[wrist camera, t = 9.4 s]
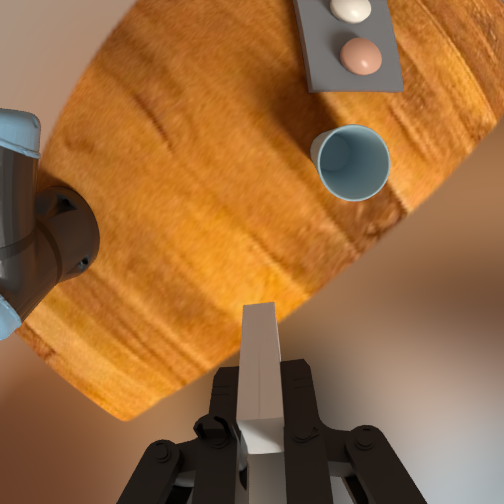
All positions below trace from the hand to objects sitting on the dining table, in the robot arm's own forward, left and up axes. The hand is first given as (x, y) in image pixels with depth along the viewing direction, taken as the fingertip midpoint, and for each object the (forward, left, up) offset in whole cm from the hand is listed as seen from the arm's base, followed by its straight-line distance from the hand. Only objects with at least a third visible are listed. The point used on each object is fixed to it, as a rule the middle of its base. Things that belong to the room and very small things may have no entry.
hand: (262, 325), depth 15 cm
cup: (+10, +5, -27) cm, 29 cm away
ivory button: (+14, +24, -25) cm, 37 cm away
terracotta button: (+14, +17, -25) cm, 33 cm away
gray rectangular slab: (+14, +24, -26) cm, 38 cm away
